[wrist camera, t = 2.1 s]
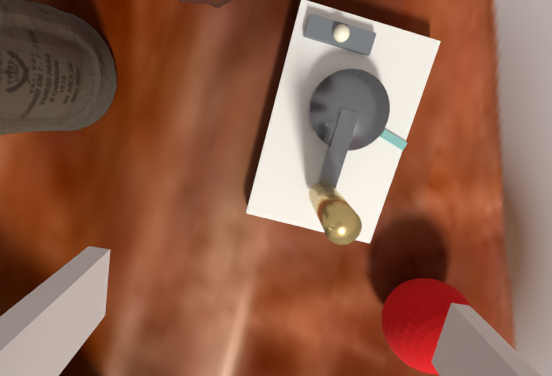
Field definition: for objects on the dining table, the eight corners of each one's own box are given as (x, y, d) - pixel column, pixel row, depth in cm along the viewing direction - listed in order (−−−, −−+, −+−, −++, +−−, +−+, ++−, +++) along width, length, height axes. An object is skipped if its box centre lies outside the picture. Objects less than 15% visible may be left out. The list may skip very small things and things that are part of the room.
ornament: (453, 262, 38) (517, 315, 28) (444, 333, 40) (501, 405, 31) (373, 263, 38) (410, 318, 28) (368, 334, 40) (401, 408, 30)
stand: (247, 207, 36) (244, 219, 32) (299, 5, 32) (303, -8, 28) (365, 236, 37) (376, 251, 33) (431, 45, 33) (452, 37, 29)
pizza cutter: (320, 61, 30) (345, 40, 21) (394, 82, 31) (451, 72, 22) (282, 196, 33) (289, 232, 24) (351, 213, 34) (384, 255, 24)
